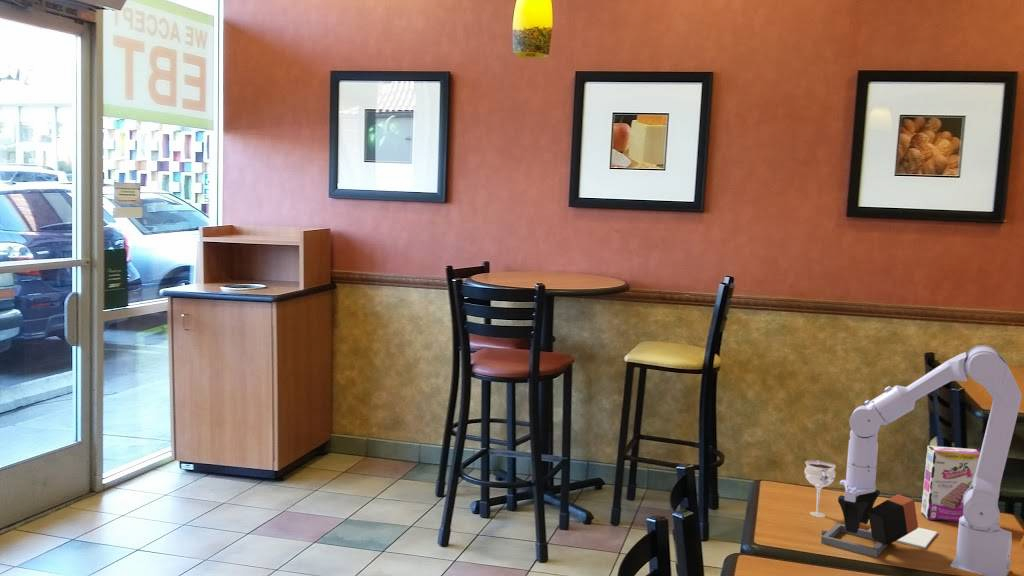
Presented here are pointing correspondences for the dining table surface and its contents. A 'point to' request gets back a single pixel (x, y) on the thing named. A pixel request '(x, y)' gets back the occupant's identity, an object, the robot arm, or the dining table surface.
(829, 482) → the wineglass
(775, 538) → the dining table surface
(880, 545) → the frame
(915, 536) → the mat
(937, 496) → the candy bar box
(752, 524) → the dining table surface
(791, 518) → the dining table surface
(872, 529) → the battery
